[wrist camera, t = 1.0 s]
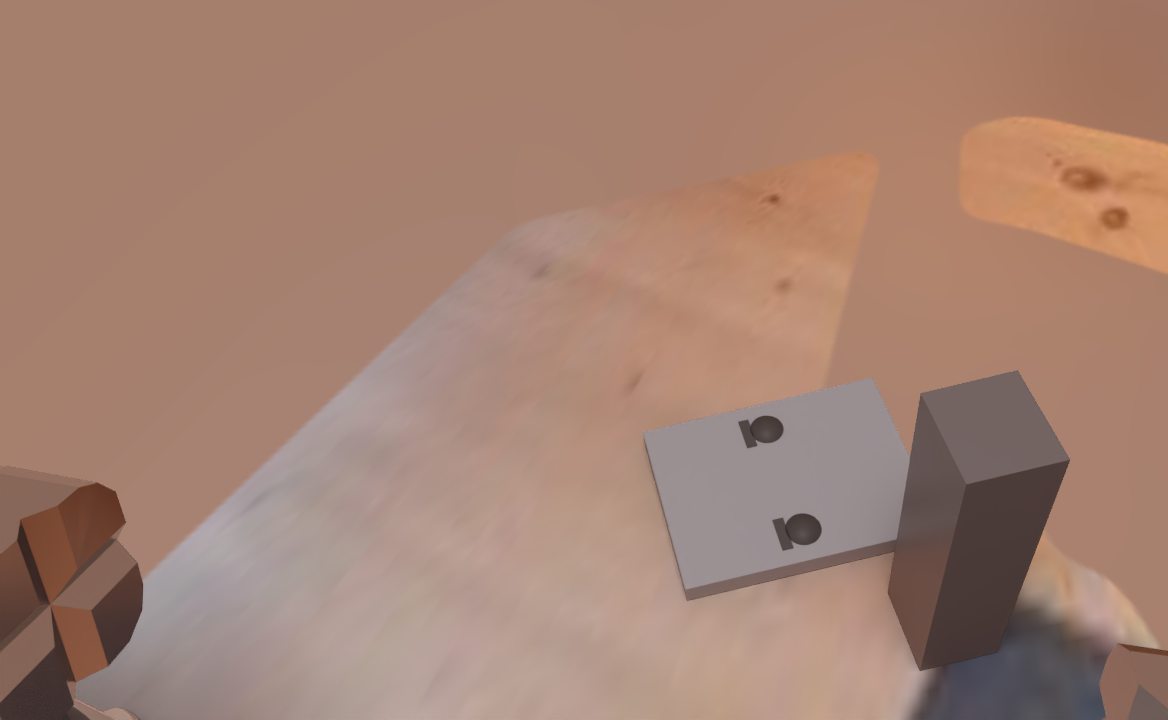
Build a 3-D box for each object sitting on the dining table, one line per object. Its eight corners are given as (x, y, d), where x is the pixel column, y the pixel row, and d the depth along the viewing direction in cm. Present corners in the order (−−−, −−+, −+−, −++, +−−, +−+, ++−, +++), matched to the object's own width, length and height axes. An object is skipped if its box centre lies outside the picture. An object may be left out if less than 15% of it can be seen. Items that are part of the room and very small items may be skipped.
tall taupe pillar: (919, 670, 59) (966, 484, 44) (887, 592, 63) (920, 393, 47) (1000, 651, 59) (1075, 458, 44) (964, 574, 63) (1022, 369, 47)
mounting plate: (687, 600, 64) (685, 589, 63) (645, 444, 72) (642, 431, 71) (940, 540, 64) (942, 527, 63) (871, 390, 72) (872, 377, 71)
